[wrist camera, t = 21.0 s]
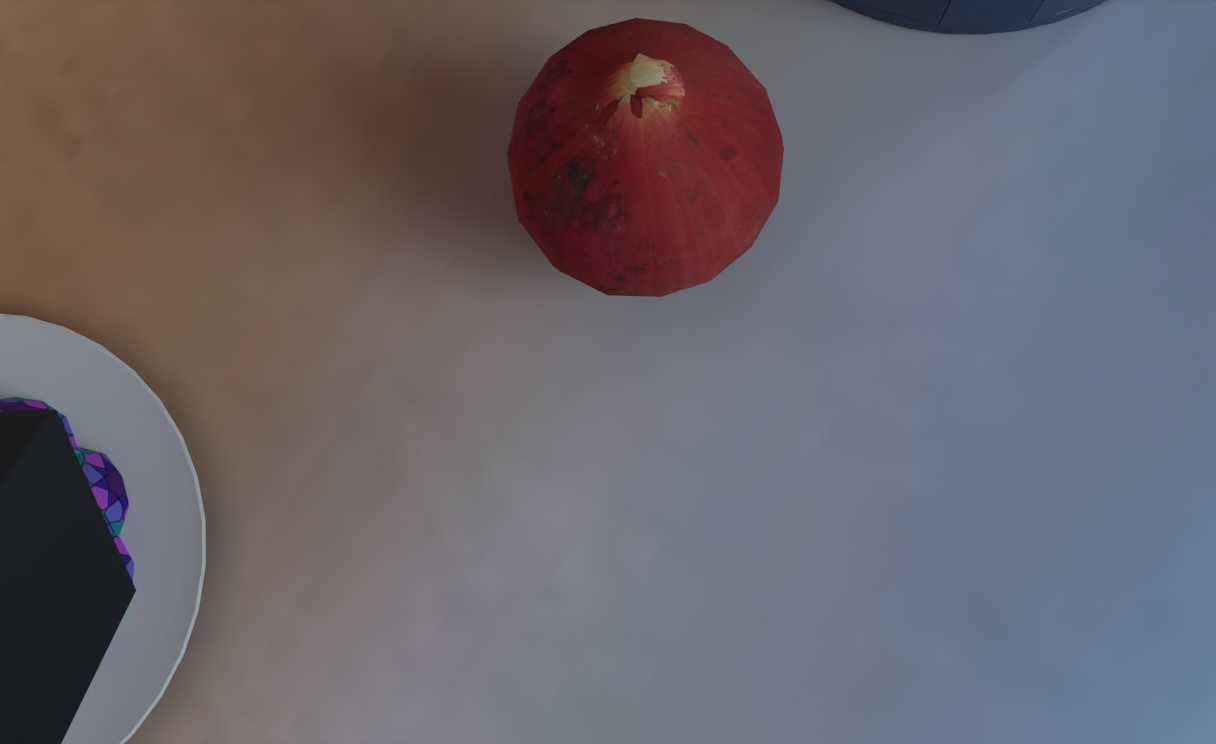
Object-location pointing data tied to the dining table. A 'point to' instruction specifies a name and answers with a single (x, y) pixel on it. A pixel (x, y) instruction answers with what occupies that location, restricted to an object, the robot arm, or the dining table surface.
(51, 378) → the pudding
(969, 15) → the pot
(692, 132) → the onion
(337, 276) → the dining table surface
